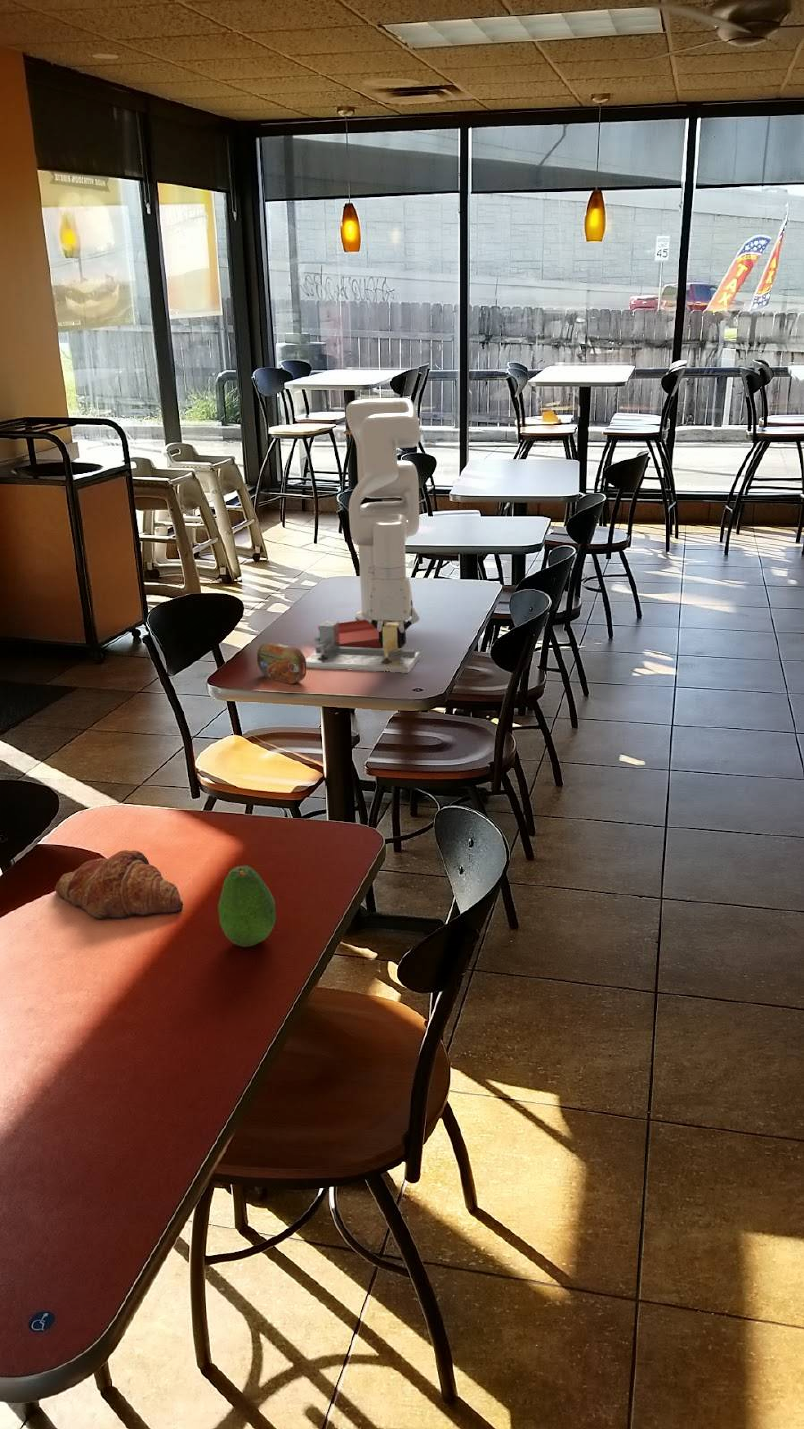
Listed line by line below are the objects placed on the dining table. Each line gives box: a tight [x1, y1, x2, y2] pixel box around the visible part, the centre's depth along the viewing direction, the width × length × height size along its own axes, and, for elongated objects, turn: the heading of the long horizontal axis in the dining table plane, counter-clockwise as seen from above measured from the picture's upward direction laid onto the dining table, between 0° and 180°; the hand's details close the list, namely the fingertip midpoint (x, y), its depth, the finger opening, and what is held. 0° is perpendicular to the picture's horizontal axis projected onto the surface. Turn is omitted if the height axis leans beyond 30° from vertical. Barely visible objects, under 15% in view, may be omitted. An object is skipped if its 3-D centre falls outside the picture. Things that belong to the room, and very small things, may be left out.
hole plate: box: [305, 620, 421, 674], centre depth 277 cm, size 12×26×9 cm, turn 76°
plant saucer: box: [316, 619, 388, 648], centre depth 296 cm, size 18×18×3 cm
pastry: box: [54, 849, 184, 921], centre depth 171 cm, size 17×15×8 cm
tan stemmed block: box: [382, 621, 401, 661], centre depth 276 cm, size 9×4×7 cm, turn 166°
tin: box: [256, 642, 307, 685], centre depth 267 cm, size 15×3×8 cm, turn 47°
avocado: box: [217, 864, 277, 948], centre depth 158 cm, size 8×8×12 cm
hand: (392, 645), depth 279 cm, fingers closed on tan stemmed block, 3 cm apart
